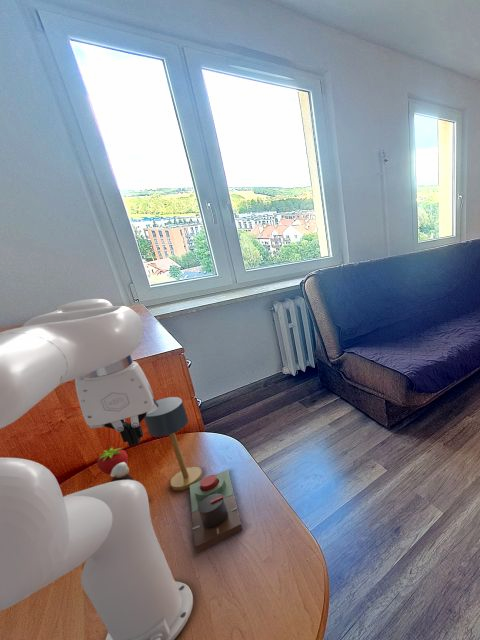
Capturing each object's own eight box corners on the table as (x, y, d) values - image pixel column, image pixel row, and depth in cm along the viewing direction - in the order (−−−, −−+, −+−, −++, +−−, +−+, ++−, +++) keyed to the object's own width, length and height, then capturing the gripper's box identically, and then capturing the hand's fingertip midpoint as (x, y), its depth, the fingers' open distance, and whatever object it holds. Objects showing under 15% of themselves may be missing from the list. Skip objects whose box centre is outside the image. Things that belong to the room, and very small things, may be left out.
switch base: (234, 497, 85) (232, 488, 84) (193, 516, 80) (190, 507, 79) (228, 472, 93) (226, 464, 92) (190, 488, 88) (187, 480, 87)
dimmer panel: (243, 529, 77) (241, 523, 76) (196, 553, 72) (193, 547, 71) (235, 499, 85) (234, 493, 84) (192, 519, 79) (190, 513, 79)
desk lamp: (205, 482, 90) (182, 408, 81) (169, 497, 85) (140, 420, 77) (203, 464, 96) (181, 393, 87) (168, 477, 91) (142, 404, 83)
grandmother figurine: (155, 498, 85) (140, 459, 80) (142, 511, 81) (125, 472, 77) (128, 495, 86) (111, 457, 81) (113, 508, 82) (95, 469, 78)
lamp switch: (218, 486, 85) (217, 481, 85) (202, 493, 83) (200, 488, 83) (217, 477, 88) (215, 472, 87) (201, 484, 86) (199, 479, 85)
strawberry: (126, 463, 96) (114, 435, 92) (138, 473, 92) (126, 444, 89) (99, 477, 91) (86, 448, 87) (111, 488, 88) (98, 459, 84)
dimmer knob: (204, 532, 74) (198, 515, 72) (202, 516, 78) (196, 499, 76) (229, 520, 77) (224, 504, 75) (226, 505, 81) (221, 489, 79)
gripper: (43, 384, 56) (82, 468, 63) (153, 360, 65) (178, 437, 71) (56, 367, 62) (90, 446, 69) (155, 347, 70) (178, 419, 77)
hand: (135, 441), depth 70 cm, fingers closed
